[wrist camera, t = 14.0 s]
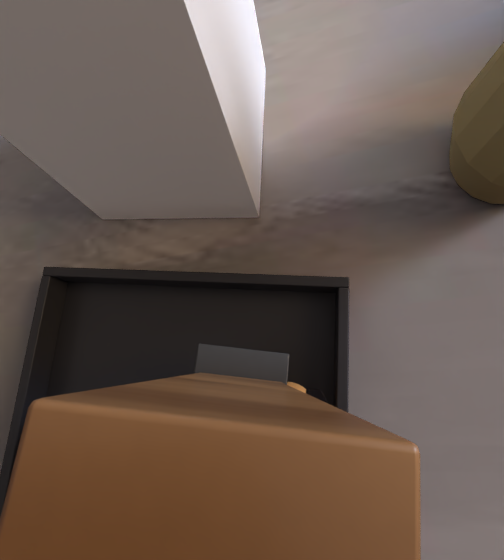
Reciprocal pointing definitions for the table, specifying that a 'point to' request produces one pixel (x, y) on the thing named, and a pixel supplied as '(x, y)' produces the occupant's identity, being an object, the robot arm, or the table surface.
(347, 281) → the pan
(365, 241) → the table surface
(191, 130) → the milk
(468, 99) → the squeeze bottle
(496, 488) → the table surface
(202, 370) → the wooden block on stand
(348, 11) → the table surface
